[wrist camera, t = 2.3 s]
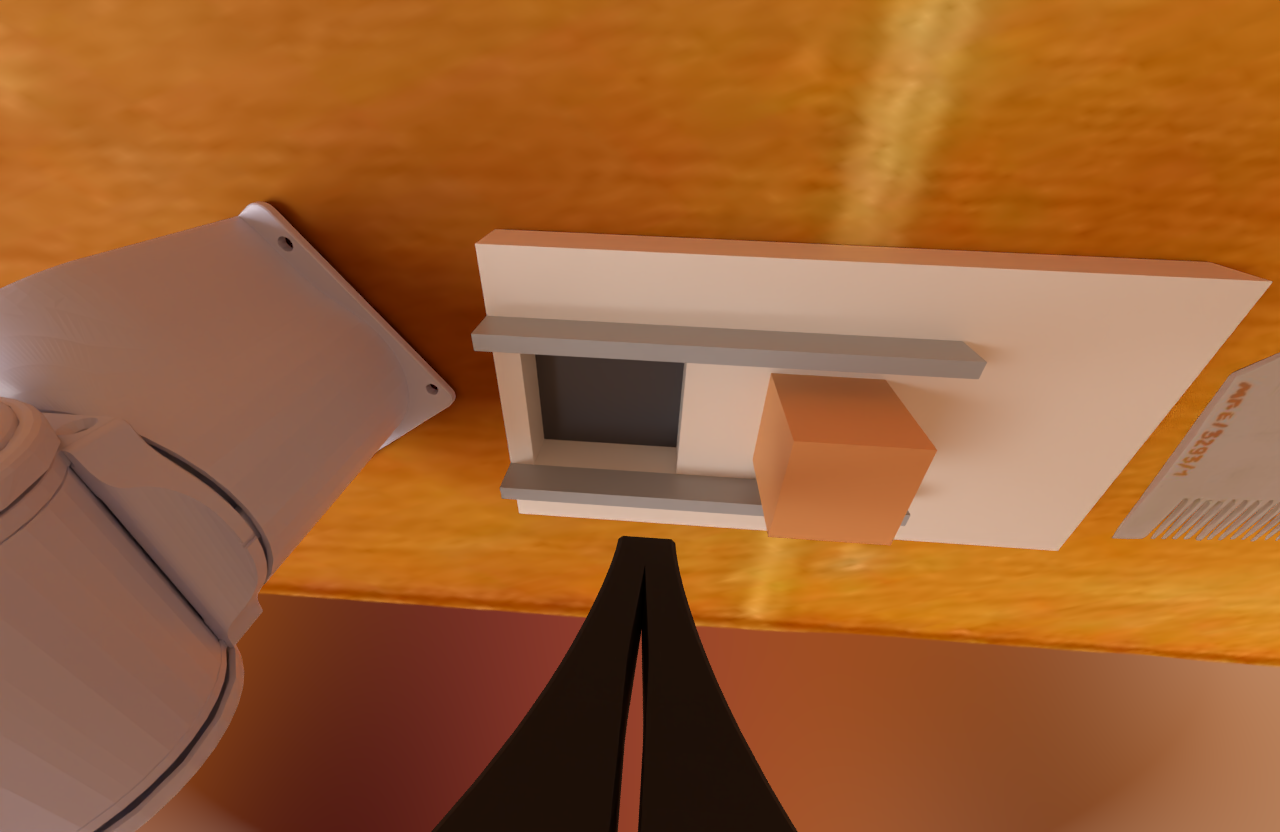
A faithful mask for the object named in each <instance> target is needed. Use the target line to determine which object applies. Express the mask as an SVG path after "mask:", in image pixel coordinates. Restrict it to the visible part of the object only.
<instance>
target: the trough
mask: <svg viewBox="0 0 1280 832" xmlns="http://www.w3.org/2000/svg"><path fill="white" fill-rule="evenodd" d="M475 247H476V254H477V260H478V266H479V272H480V278H481V284H482V290H483V296H484V302H485V308H486V314H487V316H486V317H485V318H484V319H483V321H482V322H481V323H480V324H479V325H478V326H477V327H476V329H475V330H474V331H473V332H472V333H471V337H472V342H473V348H474V351H485V352H493V357H494V363H495V369H496V375H497V381H498V388H499V394H500V400H501V406H502V412H503V418H504V424H505V430H506V436H507V442H508V448H509V455H510V461H511V464H510V466H509V468H508V471H507V473H506V475H505V477H504V479H503V482H502V484H501V486H500V491H501V496H502V498H503V499H517V503H518V509H519V513H521V514H536V515H550V516H565V517H579V518H593V519H608V520H622V521H636V522H651V523H665V524H680V525H694V526H708V527H723V528H737V529H751V530H766V531H767V528H766V523H765V518H764V513H763V509H762V504H761V499H760V494H759V489H758V484H757V480H756V475H755V470H754V465H753V455H754V451H755V446H756V441H757V436H758V432H759V427H760V422H761V417H762V413H763V408H764V403H765V399H766V394H767V389H768V384H769V380H770V375H771V373H778V374H796V375H813V376H831V377H849V378H866V379H884V380H886V381H887V382H888V384H889V385H890V386H891V388H892V389H893V391H894V392H895V393H896V395H897V396H898V397H899V399H900V400H901V401H902V403H903V404H904V405H905V407H906V408H907V410H908V411H909V412H910V414H911V415H912V416H913V418H914V419H915V420H916V422H917V423H918V425H919V426H920V427H921V429H922V430H923V431H924V433H925V434H926V435H927V437H928V438H929V439H930V441H931V442H932V444H933V445H934V446H935V448H936V449H937V452H936V454H935V456H934V458H933V460H932V462H931V464H930V466H929V468H928V470H927V472H926V474H925V476H924V478H923V480H922V482H921V484H920V486H919V489H918V491H917V493H916V495H915V497H914V499H913V501H912V503H911V505H910V507H909V509H908V511H907V513H906V515H905V517H904V519H903V521H902V523H901V525H900V527H899V529H898V531H897V533H896V535H895V537H894V539H895V540H910V541H924V542H938V543H953V544H967V545H981V546H996V547H1010V548H1025V549H1039V550H1053V551H1058V550H1059V549H1060V548H1061V546H1062V545H1063V544H1064V543H1065V541H1066V540H1067V539H1068V538H1069V536H1070V535H1071V534H1072V533H1073V531H1074V530H1075V529H1076V528H1077V526H1078V525H1079V524H1080V523H1081V521H1082V520H1083V519H1084V518H1085V516H1086V515H1087V514H1088V513H1089V511H1090V510H1091V509H1092V508H1093V506H1094V505H1095V504H1096V503H1097V501H1098V500H1099V499H1100V498H1101V496H1102V495H1103V494H1104V493H1105V491H1106V490H1107V489H1108V488H1109V486H1110V485H1111V484H1112V482H1113V481H1114V480H1115V479H1116V477H1117V476H1118V475H1119V474H1120V472H1121V471H1122V470H1123V469H1124V467H1125V466H1126V465H1127V464H1128V462H1129V461H1130V460H1131V459H1132V457H1133V456H1134V455H1135V454H1136V452H1137V451H1138V450H1139V449H1140V447H1141V446H1142V445H1143V444H1144V442H1145V441H1146V440H1147V439H1148V437H1149V436H1150V435H1151V434H1152V432H1153V431H1154V430H1155V429H1156V427H1157V426H1158V425H1159V424H1160V422H1161V421H1162V420H1163V419H1164V417H1165V416H1166V415H1167V414H1168V412H1169V411H1170V410H1171V409H1172V407H1173V406H1174V405H1175V404H1176V402H1177V401H1178V400H1179V399H1180V397H1181V396H1182V395H1183V394H1184V392H1185V391H1186V390H1187V389H1188V387H1189V386H1190V385H1191V384H1192V382H1193V381H1194V380H1195V379H1196V377H1197V376H1198V375H1199V374H1200V372H1201V371H1202V370H1203V369H1204V367H1205V366H1206V365H1207V364H1208V362H1209V361H1210V360H1211V359H1212V357H1213V356H1214V355H1215V354H1216V352H1217V351H1218V350H1219V349H1220V347H1221V346H1222V345H1223V344H1224V342H1225V341H1226V340H1227V339H1228V337H1229V336H1230V335H1231V334H1232V332H1233V331H1234V330H1235V329H1236V327H1237V326H1238V325H1239V324H1240V322H1241V321H1242V320H1243V319H1244V317H1245V316H1246V315H1247V314H1248V312H1249V311H1250V310H1251V309H1252V307H1253V306H1254V305H1255V304H1256V302H1257V301H1258V300H1259V299H1260V297H1261V296H1262V295H1263V294H1264V292H1265V291H1266V290H1267V289H1268V287H1269V286H1270V285H1271V283H1272V282H1273V281H1269V280H1266V279H1263V278H1260V277H1257V276H1253V275H1250V274H1247V273H1244V272H1240V271H1237V270H1234V269H1231V268H1228V267H1224V266H1221V265H1218V264H1215V263H1211V262H1199V261H1177V260H1156V259H1134V258H1112V257H1091V256H1069V255H1048V254H1026V253H1004V252H983V251H961V250H939V249H918V248H896V247H874V246H853V245H831V244H809V243H788V242H766V241H745V240H723V239H701V238H680V237H658V236H636V235H615V234H593V233H571V232H550V231H528V230H506V229H494V230H493V231H492V232H490V233H489V234H488V235H486V236H485V237H483V238H482V239H481V240H479V241H478V242H477V243H475Z"/></svg>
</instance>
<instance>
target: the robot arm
mask: <svg viewBox="0 0 1280 832" xmlns="http://www.w3.org/2000/svg"><path fill="white" fill-rule="evenodd" d="M285 237H286V238H288V239H289V240H290V241H291V242H292V244H293V248H292V247H290V246H289V245H288V244H287V242H286V239H285ZM430 384H433V385H435V386H436V387H437V388H438V390H435V389H433V388H432V387H431V385H430ZM455 398H456V395H455V392H454V390H453V389H452V388H451V387H450V386H449V385H448V384H447V383H446V382H445V381H444V380H443V379H442V378H441V377H440V376H439V375H438V374H437V373H436V372H435V371H434V370H433V369H432V368H431V367H430V366H429V365H428V363H427V362H426V361H425V360H424V359H423V358H422V357H421V356H420V355H419V354H418V353H417V352H416V351H415V350H414V349H413V348H412V347H411V346H410V345H409V344H408V343H407V342H406V341H405V340H404V339H403V338H402V337H401V336H400V335H399V334H398V333H397V332H396V331H395V330H394V329H393V328H392V327H391V326H390V325H389V324H388V323H387V322H386V321H385V320H384V319H383V318H382V317H381V316H380V315H379V314H378V313H377V312H376V311H375V310H374V309H373V308H372V307H371V306H370V305H369V303H368V302H367V301H366V300H365V299H364V298H363V297H362V296H361V295H360V294H359V293H358V292H357V291H356V290H355V289H354V288H353V287H352V286H351V285H350V284H349V283H348V282H347V281H346V280H345V279H344V278H343V277H342V276H341V275H340V274H339V273H338V272H337V271H336V270H335V269H334V268H333V267H332V266H331V265H330V264H329V263H328V262H327V261H326V260H325V259H324V258H323V257H322V256H321V255H320V254H319V253H318V252H317V251H316V250H315V249H314V248H313V247H312V246H311V244H310V243H309V242H308V241H307V240H306V239H305V238H304V237H303V236H302V235H301V234H300V233H299V232H298V231H297V230H296V229H295V228H294V227H293V226H292V225H291V224H290V223H289V222H288V221H287V220H286V219H285V218H284V217H283V216H282V215H281V214H280V213H279V212H278V211H277V210H276V209H275V208H274V207H273V206H271V205H270V204H268V203H266V202H254V203H251V204H249V205H248V206H247V207H246V208H245V209H244V210H243V211H242V212H241V213H240V214H239V215H238V216H236V217H232V218H229V219H225V220H221V221H218V222H214V223H210V224H206V225H203V226H199V227H195V228H192V229H188V230H184V231H181V232H177V233H173V234H170V235H166V236H162V237H158V238H155V239H151V240H147V241H144V242H140V243H136V244H133V245H129V246H125V247H122V248H118V249H114V250H111V251H107V252H103V253H99V254H96V255H92V256H88V257H85V258H81V259H77V260H74V261H70V262H67V263H64V264H61V265H58V266H55V267H52V268H49V269H46V270H44V271H41V272H38V273H36V274H33V275H31V276H28V277H26V278H23V279H21V280H19V281H16V282H14V283H12V284H9V285H7V286H5V287H3V288H1V289H0V832H135V831H136V830H137V829H139V828H140V827H141V826H142V825H143V824H145V823H146V822H147V821H148V820H149V819H151V818H152V817H153V816H154V815H155V814H156V813H157V812H158V811H159V810H160V809H161V808H162V807H164V805H166V804H167V803H168V802H169V801H170V800H171V799H172V798H173V797H174V796H175V795H176V794H177V793H178V792H179V791H180V790H181V789H182V788H183V787H184V785H185V784H186V783H187V782H188V781H189V780H190V779H191V778H192V776H193V775H194V774H195V773H196V772H197V771H198V770H199V768H200V767H201V766H202V764H203V763H204V762H205V760H206V759H207V758H208V756H209V755H210V754H211V753H212V751H213V750H214V748H215V747H216V746H217V744H218V742H219V741H220V739H221V737H222V736H223V734H224V732H225V731H226V729H227V727H228V726H229V724H230V722H231V719H232V717H233V715H234V713H235V710H236V708H237V706H238V703H239V699H240V695H241V692H242V688H243V679H244V668H243V662H242V657H241V654H240V652H239V650H238V648H237V646H236V644H237V642H238V641H239V640H240V639H241V637H242V636H243V635H244V634H245V632H246V631H247V630H248V629H249V627H250V626H251V625H252V624H253V622H254V621H255V620H256V619H257V617H258V616H259V615H260V614H261V613H262V608H261V606H260V605H259V603H258V599H257V596H258V592H259V591H260V589H261V587H262V586H263V585H264V584H265V583H266V582H267V581H268V579H269V578H270V577H271V576H272V575H273V574H274V572H275V571H276V570H277V569H278V568H279V566H280V565H281V564H282V563H283V562H284V561H285V559H286V558H287V557H288V556H289V555H290V553H291V552H292V551H293V550H294V549H295V548H296V546H297V545H298V544H299V543H300V542H301V541H302V539H303V538H304V537H305V536H306V535H307V533H308V532H309V531H310V530H311V529H312V528H313V526H314V525H315V524H316V523H317V522H318V520H319V519H320V518H321V517H322V516H323V515H324V513H325V512H326V511H327V510H328V509H329V507H330V506H331V505H332V504H333V503H334V502H335V500H336V499H337V498H338V497H339V496H340V494H341V493H342V492H343V491H344V490H345V489H346V487H347V486H348V485H349V484H350V483H351V482H352V480H353V479H354V478H355V477H356V476H357V474H358V473H359V472H360V471H361V470H362V469H363V467H364V466H365V465H366V464H367V463H368V461H369V460H370V459H371V458H372V457H373V456H374V454H375V453H376V452H377V451H379V450H380V449H382V448H383V447H385V446H387V445H388V444H390V443H391V442H393V441H395V440H396V439H398V438H399V437H401V436H403V435H404V434H406V433H407V432H409V431H411V430H412V429H414V428H415V427H417V426H419V425H420V424H422V423H423V422H425V421H427V420H428V419H430V418H431V417H433V416H435V415H436V414H438V413H439V412H441V411H443V410H444V409H446V408H447V407H449V406H450V405H451V404H452V403H453V402H454V400H455ZM641 629H642V676H643V678H642V679H643V753H642V771H641V789H640V806H639V824H638V832H797V831H796V828H795V827H794V825H793V824H792V822H791V820H790V819H789V817H788V815H787V814H786V812H785V810H784V809H783V807H782V805H781V804H780V802H779V800H778V798H777V797H776V795H775V793H774V791H773V790H772V788H771V786H770V785H769V783H768V781H767V779H766V778H765V776H764V774H763V772H762V770H761V768H760V766H759V764H758V763H757V761H756V759H755V757H754V755H753V754H752V751H751V750H750V748H749V746H748V744H747V742H746V740H745V738H744V737H743V735H742V733H741V731H740V729H739V727H738V725H737V723H736V721H735V719H734V717H733V715H732V713H731V710H730V709H729V707H728V704H727V702H726V700H725V698H724V695H723V693H722V691H721V689H720V687H719V684H718V682H717V680H716V678H715V675H714V673H713V670H712V668H711V666H710V663H709V661H708V658H707V656H706V653H705V651H704V648H703V645H702V643H701V640H700V638H699V635H698V632H697V629H696V626H695V623H694V620H693V617H692V614H691V611H690V608H689V605H688V602H687V598H686V595H685V591H684V588H683V584H682V580H681V576H680V571H679V567H678V561H677V555H676V547H675V542H674V541H672V540H671V539H658V538H644V537H630V536H622V537H621V538H619V539H618V543H617V547H616V551H615V554H614V557H613V560H612V563H611V565H610V568H609V570H608V573H607V575H606V578H605V580H604V582H603V585H602V587H601V589H600V591H599V593H598V595H597V597H596V599H595V602H594V604H593V606H592V608H591V610H590V612H589V614H588V616H587V618H586V620H585V621H584V623H583V625H582V627H581V629H580V630H579V632H578V634H577V636H576V638H575V640H574V641H573V643H572V645H571V647H570V648H569V650H568V652H567V654H566V655H565V657H564V659H563V660H562V662H561V664H560V665H559V667H558V668H557V670H556V671H555V673H554V675H553V676H552V678H551V679H550V681H549V683H548V684H547V685H546V687H545V688H544V690H543V691H542V693H541V694H540V696H539V697H538V699H537V700H536V701H535V703H534V704H533V706H532V707H531V709H530V710H529V712H528V713H527V715H526V716H525V717H524V719H523V720H522V721H521V723H520V724H519V725H518V727H517V728H516V730H515V731H514V733H513V734H512V735H511V736H510V738H509V739H508V740H507V741H506V743H505V744H504V745H503V746H502V748H501V749H500V750H499V752H498V753H497V754H496V755H495V757H494V758H493V759H492V761H491V762H490V763H489V764H488V766H487V767H486V768H485V769H484V771H483V772H482V773H481V775H480V776H479V777H478V778H477V779H476V780H475V782H474V783H473V784H472V785H471V787H470V788H469V789H468V790H467V791H466V792H465V794H464V795H463V796H462V797H461V798H460V799H459V800H458V802H457V803H456V804H455V805H454V806H453V807H452V809H451V810H450V811H449V812H448V813H447V814H446V815H445V817H444V818H443V819H442V820H441V821H440V822H439V824H438V825H437V826H436V827H435V828H434V829H433V831H432V832H618V820H619V807H620V795H621V781H622V769H623V755H624V744H625V735H626V726H627V719H628V713H629V706H630V700H631V693H632V687H633V680H634V674H635V668H636V661H637V655H638V649H639V642H640V636H641Z"/></svg>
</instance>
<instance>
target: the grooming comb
mask: <svg viewBox="0 0 1280 832" xmlns="http://www.w3.org/2000/svg"><path fill="white" fill-rule="evenodd" d="M1180 502H1181V503H1180ZM1179 503H1180V504H1179ZM1178 504H1179V505H1178ZM1202 504H1203V505H1202ZM1276 504H1277V505H1276ZM1177 505H1178V506H1177ZM1201 505H1202V506H1201ZM1275 505H1276V506H1275ZM1176 506H1177V507H1176ZM1188 506H1189V507H1188ZM1200 506H1201V507H1200ZM1237 506H1238V507H1237ZM1274 506H1275V507H1274ZM1175 507H1176V508H1175ZM1187 507H1188V508H1187ZM1199 507H1200V508H1199ZM1236 507H1237V508H1236ZM1248 507H1249V508H1248ZM1186 508H1187V509H1186ZM1198 508H1199V509H1198ZM1235 508H1236V509H1235ZM1247 508H1248V509H1247ZM1174 509H1175V510H1174ZM1185 509H1186V510H1185ZM1197 509H1198V510H1197ZM1234 509H1235V510H1234ZM1246 509H1247V510H1246ZM1270 509H1271V510H1270ZM1173 510H1174V511H1173ZM1184 510H1185V511H1184ZM1196 510H1197V511H1196ZM1233 510H1234V511H1233ZM1245 510H1246V511H1245ZM1269 510H1270V511H1269ZM1172 511H1173V512H1172ZM1183 511H1184V512H1183ZM1195 511H1196V512H1195ZM1207 511H1208V512H1207ZM1219 511H1220V512H1219ZM1232 511H1233V512H1232ZM1244 511H1245V512H1244ZM1268 511H1269V512H1268ZM1171 512H1172V513H1171ZM1182 512H1183V513H1182ZM1194 512H1195V513H1194ZM1206 512H1207V513H1206ZM1218 512H1219V513H1218ZM1243 512H1244V513H1243ZM1255 512H1256V513H1255ZM1267 512H1268V513H1267ZM1279 512H1280V353H1277V354H1275V355H1273V356H1270V357H1268V358H1266V359H1263V360H1261V361H1259V362H1256V363H1254V364H1252V365H1249V366H1247V367H1245V368H1242V369H1240V370H1238V371H1235V372H1233V373H1232V374H1231V375H1229V376H1228V378H1227V379H1226V381H1225V382H1224V384H1223V385H1222V386H1221V388H1220V389H1219V391H1218V392H1217V393H1216V394H1215V396H1214V397H1213V399H1212V400H1211V401H1210V403H1209V404H1208V405H1207V407H1206V408H1205V409H1204V411H1203V412H1202V413H1201V415H1200V416H1199V417H1198V419H1197V420H1196V422H1195V423H1194V424H1193V426H1192V427H1191V429H1190V430H1189V431H1188V433H1187V434H1186V436H1185V437H1184V439H1183V440H1182V441H1181V443H1180V444H1179V445H1178V447H1177V448H1176V449H1175V451H1174V452H1173V454H1172V455H1171V456H1170V458H1169V459H1168V460H1167V462H1166V463H1165V465H1164V466H1163V468H1162V469H1161V470H1160V472H1159V473H1158V475H1157V476H1156V477H1155V479H1154V480H1153V481H1152V483H1151V484H1150V485H1149V487H1148V488H1147V489H1146V491H1145V492H1144V493H1143V495H1142V496H1141V498H1140V500H1139V501H1138V502H1137V503H1136V504H1135V506H1134V507H1133V508H1132V510H1131V511H1130V512H1129V514H1128V515H1127V516H1126V518H1125V519H1124V520H1123V522H1122V523H1121V524H1120V526H1119V527H1118V529H1117V531H1116V532H1115V534H1114V535H1113V537H1112V538H1120V539H1142V538H1144V537H1146V536H1147V535H1148V534H1149V533H1150V532H1151V531H1152V530H1153V529H1154V528H1155V527H1156V526H1157V525H1158V524H1159V523H1160V522H1161V521H1162V520H1163V519H1164V518H1166V517H1167V516H1168V515H1169V514H1170V513H1171V514H1170V515H1169V517H1168V518H1167V519H1166V520H1165V521H1164V522H1163V523H1162V525H1161V526H1160V527H1159V528H1158V529H1157V531H1156V532H1155V533H1154V534H1153V535H1152V537H1151V539H1155V538H1156V537H1157V536H1158V535H1159V534H1161V533H1162V532H1163V531H1164V530H1165V529H1166V528H1167V527H1168V526H1169V525H1170V524H1171V523H1172V522H1173V521H1174V520H1175V519H1176V518H1177V517H1178V516H1179V515H1180V514H1181V513H1182V514H1181V516H1180V517H1179V518H1178V519H1177V520H1176V521H1175V522H1174V524H1173V525H1172V526H1171V527H1170V529H1169V530H1168V531H1167V532H1166V533H1165V535H1164V536H1163V537H1162V538H1161V539H1166V538H1167V537H1168V536H1169V535H1170V534H1171V533H1172V532H1174V531H1175V530H1176V529H1177V528H1178V527H1179V526H1180V525H1182V524H1183V523H1184V522H1185V521H1186V520H1187V519H1188V518H1189V517H1190V516H1191V515H1192V514H1193V513H1194V514H1193V515H1192V517H1191V518H1190V519H1189V520H1188V521H1187V522H1186V523H1185V524H1184V525H1183V526H1182V528H1181V529H1180V530H1179V531H1178V532H1177V533H1176V534H1175V536H1174V537H1173V538H1172V539H1177V538H1178V537H1180V536H1181V535H1182V534H1183V533H1184V532H1185V531H1187V530H1188V529H1189V528H1190V527H1191V526H1192V525H1193V524H1195V523H1196V522H1197V521H1198V520H1199V519H1200V518H1201V517H1202V516H1203V515H1204V514H1205V513H1206V514H1205V515H1204V516H1203V517H1202V518H1201V519H1200V520H1199V522H1198V523H1197V524H1196V525H1195V526H1194V527H1193V528H1192V529H1191V530H1190V531H1189V533H1188V534H1187V535H1186V536H1185V537H1184V539H1189V538H1190V537H1191V536H1193V535H1194V534H1195V533H1196V532H1197V531H1198V530H1199V529H1201V528H1202V527H1203V526H1204V525H1205V524H1206V523H1207V522H1209V521H1210V520H1211V519H1212V518H1213V517H1214V516H1215V515H1216V514H1217V513H1218V514H1217V515H1216V516H1215V517H1214V518H1213V520H1212V521H1211V522H1210V523H1209V524H1208V525H1207V526H1206V527H1205V528H1204V530H1203V531H1202V532H1201V533H1200V534H1199V535H1198V536H1197V537H1196V540H1200V541H1201V540H1202V539H1203V538H1204V537H1205V536H1207V535H1208V534H1209V533H1210V532H1211V531H1212V530H1213V529H1214V528H1215V527H1216V526H1217V525H1218V524H1219V523H1221V522H1222V521H1223V520H1224V519H1225V518H1226V517H1227V516H1228V515H1229V514H1230V515H1229V516H1228V517H1227V518H1226V519H1225V520H1224V521H1223V522H1222V523H1221V524H1220V525H1219V526H1218V527H1217V528H1216V529H1215V530H1214V531H1213V533H1212V534H1211V535H1210V536H1209V537H1208V538H1207V540H1209V539H1212V538H1213V537H1214V536H1215V535H1217V534H1218V533H1219V532H1220V531H1222V530H1223V529H1224V528H1225V527H1226V526H1228V525H1229V524H1230V523H1231V522H1232V521H1234V520H1235V519H1236V518H1237V517H1238V516H1240V515H1241V514H1242V513H1243V514H1242V515H1241V516H1240V517H1239V518H1238V519H1237V520H1236V521H1235V522H1234V523H1233V524H1232V525H1231V526H1230V527H1229V528H1228V529H1227V530H1226V531H1225V532H1224V533H1223V534H1222V535H1221V536H1220V538H1219V539H1218V540H1222V539H1223V538H1225V537H1226V536H1227V535H1229V534H1230V533H1231V532H1233V531H1234V530H1235V529H1236V528H1237V527H1239V526H1240V525H1241V524H1242V523H1244V522H1245V521H1246V520H1247V519H1248V518H1249V517H1251V516H1252V515H1253V514H1254V513H1255V514H1254V515H1253V516H1252V517H1251V518H1250V519H1249V520H1248V521H1247V522H1246V523H1245V524H1244V525H1243V526H1242V527H1241V528H1240V529H1239V530H1238V531H1237V532H1236V533H1235V534H1234V535H1233V536H1232V537H1231V538H1230V539H1235V538H1236V537H1238V536H1239V535H1240V534H1242V533H1243V532H1244V531H1245V530H1247V529H1248V528H1249V527H1251V526H1252V525H1253V524H1254V523H1256V522H1257V521H1258V520H1259V519H1261V518H1262V517H1263V516H1264V515H1265V514H1266V513H1267V514H1266V515H1265V516H1264V517H1263V518H1262V519H1261V520H1260V521H1259V522H1258V523H1257V524H1256V525H1255V526H1254V527H1253V528H1252V529H1251V530H1250V531H1249V532H1248V533H1247V534H1246V535H1245V536H1244V537H1243V538H1242V540H1244V539H1245V538H1247V537H1248V536H1250V535H1251V534H1253V533H1254V532H1255V531H1257V530H1258V529H1259V528H1261V527H1262V526H1263V525H1264V524H1266V523H1267V522H1268V521H1269V520H1271V519H1272V518H1273V517H1275V516H1276V515H1277V514H1278V513H1279ZM1278 522H1280V514H1279V515H1278V516H1276V517H1275V518H1274V519H1273V520H1272V521H1271V522H1270V523H1269V524H1268V525H1267V526H1266V527H1265V528H1264V529H1262V530H1261V531H1260V532H1259V533H1258V534H1257V535H1256V536H1255V537H1254V538H1253V539H1252V540H1251V541H1255V540H1257V539H1258V538H1259V537H1260V536H1262V535H1263V534H1264V533H1266V532H1267V531H1268V530H1270V529H1271V528H1272V527H1273V526H1275V525H1276V524H1277V523H1278ZM1279 530H1280V524H1279V525H1278V526H1277V527H1276V528H1275V529H1273V530H1272V531H1271V532H1270V533H1269V534H1268V535H1267V536H1266V538H1265V540H1267V539H1268V538H1270V537H1271V536H1273V535H1274V534H1275V533H1277V532H1278V531H1279ZM1278 539H1280V535H1279V536H1278V537H1277V538H1276V541H1277V540H1278Z"/></svg>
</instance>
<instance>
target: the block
mask: <svg viewBox="0 0 1280 832" xmlns="http://www.w3.org/2000/svg"><path fill="white" fill-rule="evenodd" d="M936 452H937V449H936V448H935V446H934V445H933V444H932V442H931V441H930V439H929V438H928V437H927V435H926V434H925V433H924V431H923V430H922V429H921V427H920V426H919V425H918V423H917V422H916V420H915V419H914V418H913V416H912V415H911V414H910V412H909V411H908V410H907V408H906V407H905V405H904V404H903V403H902V401H901V400H900V399H899V397H898V396H897V395H896V393H895V392H894V391H893V389H892V388H891V386H890V385H889V384H888V382H887V381H886V380H884V379H866V378H849V377H831V376H813V375H796V374H778V373H771V375H770V380H769V384H768V389H767V394H766V399H765V403H764V408H763V413H762V417H761V422H760V427H759V432H758V436H757V441H756V446H755V451H754V455H753V465H754V470H755V475H756V480H757V484H758V489H759V494H760V499H761V504H762V509H763V513H764V518H765V523H766V528H767V533H768V537H779V538H793V539H807V540H822V541H836V542H850V543H865V544H879V545H891V543H892V541H893V539H894V537H895V535H896V533H897V531H898V529H899V527H900V525H901V523H902V521H903V519H904V517H905V515H906V513H907V511H908V509H909V507H910V505H911V503H912V501H913V499H914V497H915V495H916V493H917V491H918V489H919V486H920V484H921V482H922V480H923V478H924V476H925V474H926V472H927V470H928V468H929V466H930V464H931V462H932V460H933V458H934V456H935V454H936Z"/></svg>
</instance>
